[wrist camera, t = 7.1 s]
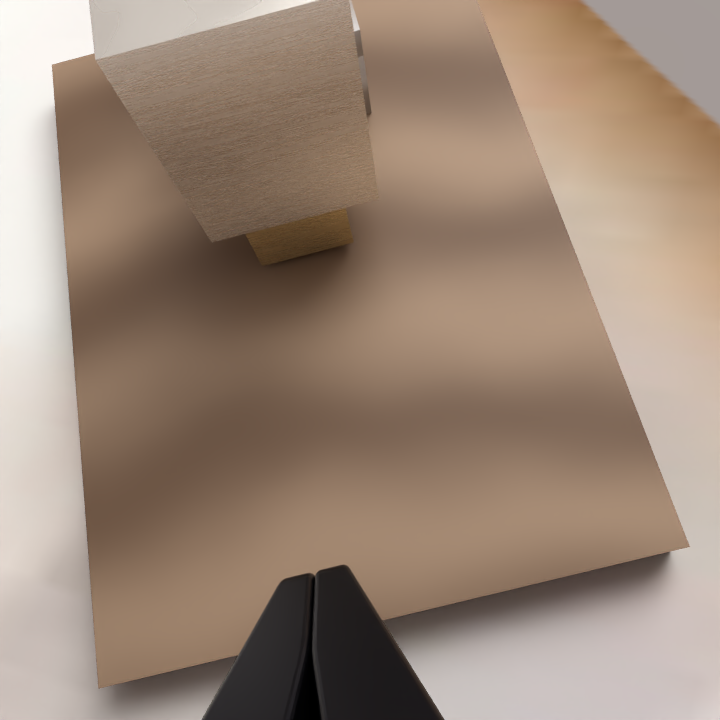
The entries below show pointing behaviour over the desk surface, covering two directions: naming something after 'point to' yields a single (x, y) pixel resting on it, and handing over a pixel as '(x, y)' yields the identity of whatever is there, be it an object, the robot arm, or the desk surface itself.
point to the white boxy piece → (247, 112)
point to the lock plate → (343, 370)
